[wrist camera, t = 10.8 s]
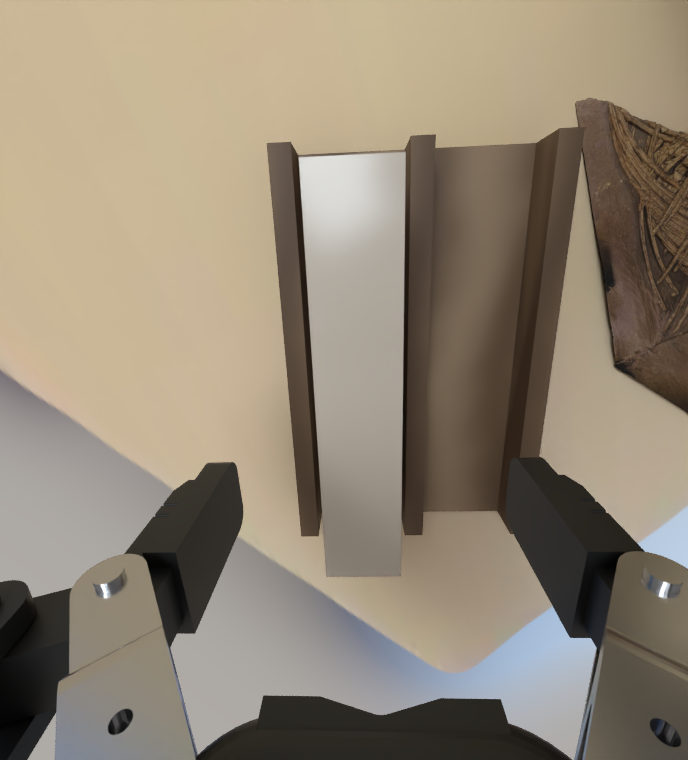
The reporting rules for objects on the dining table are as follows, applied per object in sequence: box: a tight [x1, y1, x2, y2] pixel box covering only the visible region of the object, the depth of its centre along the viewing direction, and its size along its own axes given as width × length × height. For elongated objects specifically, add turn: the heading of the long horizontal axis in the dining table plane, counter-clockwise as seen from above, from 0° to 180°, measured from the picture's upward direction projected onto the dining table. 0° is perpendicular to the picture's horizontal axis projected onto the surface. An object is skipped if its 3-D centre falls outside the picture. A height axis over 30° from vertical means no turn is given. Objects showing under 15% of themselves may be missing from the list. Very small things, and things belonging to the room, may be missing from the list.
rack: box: [267, 127, 585, 536], centre depth 24 cm, size 16×24×4 cm, turn 2°
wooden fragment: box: [575, 98, 688, 412], centre depth 24 cm, size 26×11×1 cm, turn 34°
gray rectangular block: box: [299, 152, 406, 577], centre depth 21 cm, size 4×20×8 cm, turn 2°
